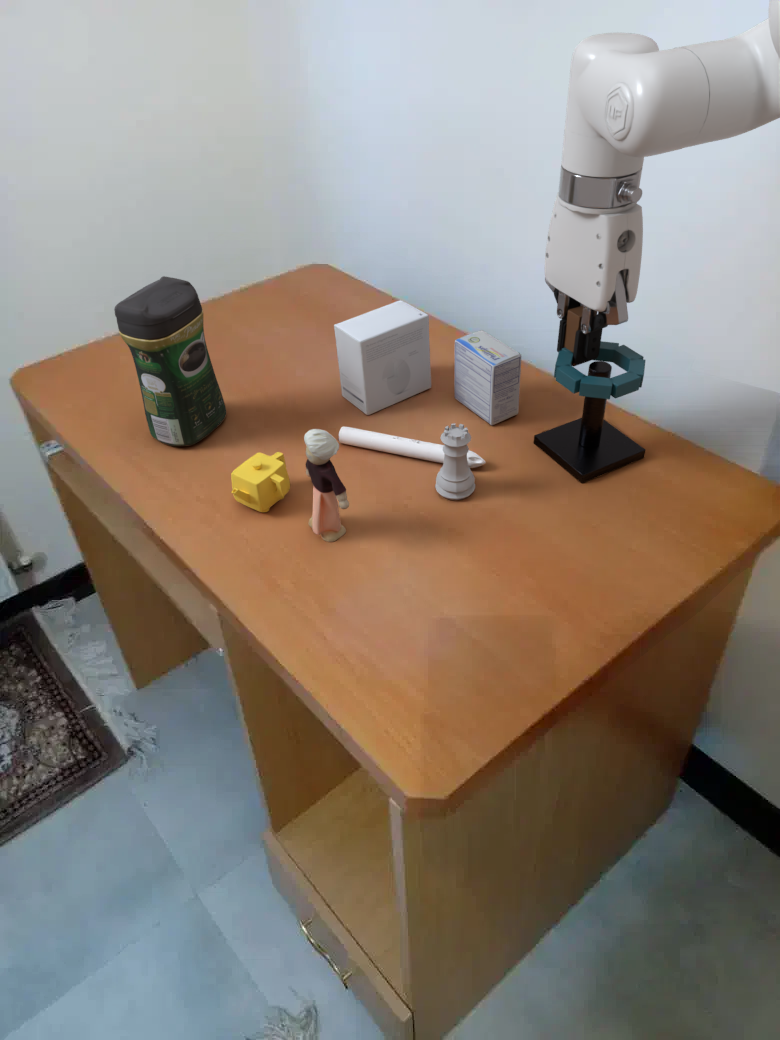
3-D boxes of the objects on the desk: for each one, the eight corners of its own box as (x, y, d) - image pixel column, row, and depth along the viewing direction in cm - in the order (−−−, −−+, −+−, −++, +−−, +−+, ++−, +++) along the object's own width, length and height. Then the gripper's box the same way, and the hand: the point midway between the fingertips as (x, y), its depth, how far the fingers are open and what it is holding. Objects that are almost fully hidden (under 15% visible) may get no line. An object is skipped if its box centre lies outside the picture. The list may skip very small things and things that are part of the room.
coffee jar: (189, 401, 104) (155, 265, 92) (237, 415, 101) (208, 277, 89) (139, 440, 98) (95, 300, 86) (189, 456, 95) (151, 313, 83)
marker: (488, 464, 91) (489, 448, 90) (483, 475, 90) (483, 458, 88) (346, 436, 97) (344, 420, 95) (339, 446, 95) (337, 430, 94)
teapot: (262, 531, 84) (254, 494, 81) (223, 512, 87) (214, 476, 83) (309, 491, 89) (304, 454, 86) (271, 474, 92) (264, 438, 88)
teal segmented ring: (660, 382, 84) (671, 331, 80) (592, 407, 81) (600, 355, 77) (602, 345, 91) (610, 296, 87) (537, 367, 88) (542, 317, 84)
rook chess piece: (476, 501, 86) (478, 441, 81) (435, 502, 87) (435, 443, 81) (474, 476, 90) (475, 417, 84) (434, 477, 90) (434, 418, 85)
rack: (644, 458, 91) (662, 373, 83) (581, 483, 88) (594, 397, 80) (593, 420, 97) (605, 338, 90) (533, 443, 94) (541, 360, 87)
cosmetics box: (403, 368, 108) (400, 297, 101) (432, 388, 104) (431, 315, 97) (339, 395, 104) (331, 322, 97) (366, 416, 100) (361, 342, 93)
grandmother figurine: (292, 523, 85) (276, 425, 77) (319, 506, 87) (306, 409, 79) (340, 557, 81) (329, 457, 72) (367, 538, 83) (359, 438, 74)
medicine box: (519, 415, 98) (523, 353, 93) (490, 427, 97) (493, 365, 91) (480, 388, 104) (483, 328, 98) (453, 399, 102) (453, 338, 96)
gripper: (688, 201, 72) (653, 377, 84) (577, 156, 82) (560, 318, 95) (624, 219, 69) (597, 398, 81) (518, 170, 80) (508, 335, 92)
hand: (577, 354), depth 88 cm, fingers closed on teal segmented ring
